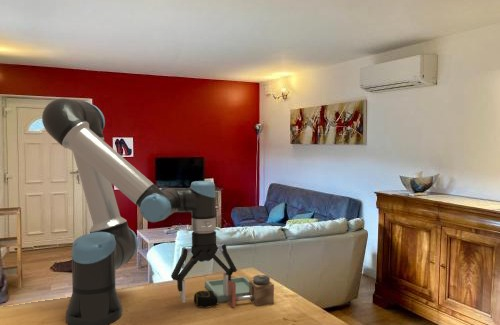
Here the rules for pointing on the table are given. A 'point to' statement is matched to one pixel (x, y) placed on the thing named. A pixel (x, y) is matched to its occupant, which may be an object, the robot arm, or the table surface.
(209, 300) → the tape measure
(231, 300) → the lock pin
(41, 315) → the table surface
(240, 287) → the tray
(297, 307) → the table surface
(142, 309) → the table surface
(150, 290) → the table surface
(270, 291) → the pulley block
